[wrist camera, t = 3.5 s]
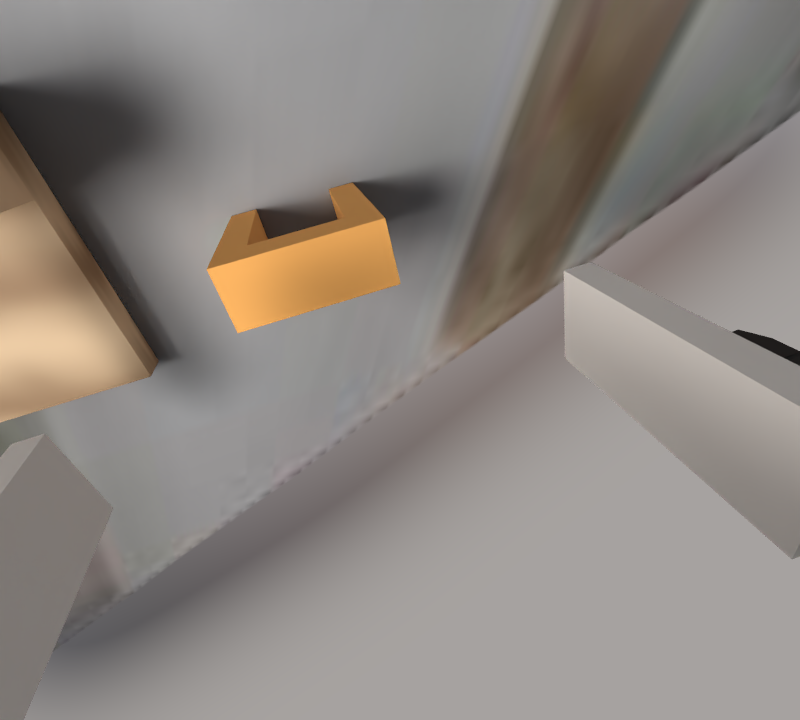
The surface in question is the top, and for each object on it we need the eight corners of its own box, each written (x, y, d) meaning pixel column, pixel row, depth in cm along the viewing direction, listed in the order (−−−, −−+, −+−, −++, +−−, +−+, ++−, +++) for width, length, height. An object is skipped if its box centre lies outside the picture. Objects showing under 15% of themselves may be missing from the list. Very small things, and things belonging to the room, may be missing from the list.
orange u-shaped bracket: (231, 216, 26) (206, 269, 17) (352, 182, 26) (385, 217, 18) (251, 263, 27) (237, 333, 19) (364, 230, 28) (400, 283, 19)
